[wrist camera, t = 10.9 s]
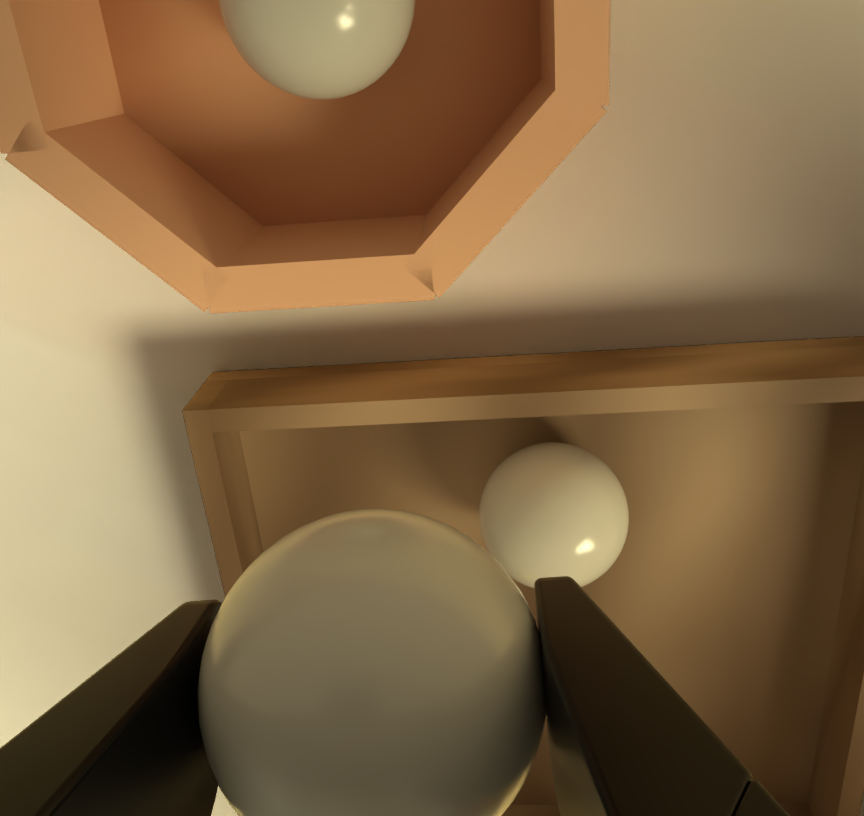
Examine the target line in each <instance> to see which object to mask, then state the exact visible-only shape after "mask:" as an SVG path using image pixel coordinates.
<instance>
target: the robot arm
mask: <svg viewBox="0 0 864 816" xmlns="http://www.w3.org/2000/svg"><path fill="white" fill-rule="evenodd" d="M534 588H535V602H536V615H537V627H538V630H539V634H540V641H541V650H542V660H543V670H544V681H545V693H546V708H547V712H546V721H547V731H548V741H549V750H550V760H551V768H552V775H553V783H554V788H555V793H556V798H557V803H558V808H559V812H560V816H790V815H789V814H788V813H787V812H786V811H785V810H784V809H783V808H782V806H781V805H780V804H779V803H778V802H777V801H776V800H775V799H774V798H773V796H772V795H771V794H770V793H769V792H768V791H767V790H766V789H765V788H764V786H763V785H762V784H761V783H760V782H759V781H757V780H753V776H752V774H751V773H750V772H749V771H748V769H747V768H746V767H745V766H744V765H743V764H742V763H741V762H740V761H739V760H738V758H737V757H736V756H735V755H734V754H733V753H732V752H731V751H730V750H729V749H728V748H727V746H726V745H725V744H724V743H723V742H722V741H721V740H720V739H719V738H718V737H717V736H716V734H715V733H714V732H713V731H712V730H711V729H710V728H709V727H708V726H707V725H706V723H705V722H704V721H703V720H702V719H701V718H700V717H699V716H698V715H697V714H696V713H695V711H694V710H693V709H692V708H691V707H690V706H689V705H688V704H687V703H686V702H685V701H684V699H683V698H682V697H681V696H680V695H679V694H678V693H677V692H676V691H675V690H674V688H673V687H672V686H671V685H670V684H669V683H668V682H667V681H666V680H665V679H664V678H663V676H662V675H661V674H660V673H659V672H658V671H657V670H656V669H655V668H654V667H653V666H652V664H651V663H650V662H649V661H648V660H647V659H646V658H645V657H644V656H643V655H642V654H641V652H640V651H639V650H638V649H637V648H636V647H635V646H634V645H633V644H632V643H631V641H630V640H629V639H628V638H627V637H626V636H625V635H624V634H623V633H622V632H621V631H620V629H619V628H618V627H617V626H616V625H615V624H614V623H613V622H612V621H611V620H610V619H609V617H608V616H607V615H606V614H605V613H604V612H603V611H602V610H601V609H600V608H599V606H598V605H597V604H596V603H595V602H594V601H593V600H592V599H591V598H590V597H589V596H588V594H587V593H586V592H585V591H584V590H583V589H582V588H581V587H580V586H579V585H578V584H577V582H576V581H575V580H574V579H573V578H571V577H569V576H560V577H546V578H538V579H537V580H536V581H535V584H534ZM221 605H222V603H221V602H219V601H217V600H205V601H190V602H186V603H184V604H182V605H181V606H179V607H178V608H177V609H176V610H174V611H173V612H172V613H171V614H169V615H168V616H167V617H165V618H164V619H163V620H162V621H160V622H159V623H158V624H157V625H155V626H154V627H153V628H152V629H150V630H149V631H148V632H147V633H145V634H144V635H143V636H141V637H140V638H139V639H138V640H136V641H135V642H134V643H133V644H131V645H130V646H129V647H128V648H126V649H125V650H124V651H123V652H121V653H120V654H119V655H117V656H116V657H115V658H114V659H112V660H111V661H110V662H109V663H107V664H106V665H105V666H104V667H102V668H101V669H100V670H99V671H97V672H96V673H95V674H93V675H92V676H91V677H90V678H88V679H87V680H86V681H85V682H83V683H82V684H81V685H80V686H78V687H77V688H76V689H74V690H73V691H72V692H71V693H69V694H68V695H67V696H66V697H64V698H63V699H62V700H61V701H59V702H58V703H57V704H56V705H54V706H53V707H52V708H50V709H49V710H48V711H47V712H45V713H44V714H43V715H42V716H40V717H39V718H38V719H37V720H35V721H34V722H33V723H32V724H30V725H29V726H28V727H26V728H25V729H24V730H23V731H21V732H20V733H19V734H18V735H16V736H15V737H14V738H13V739H11V740H10V741H9V742H7V743H6V744H5V745H4V746H2V747H1V748H0V816H211V813H212V809H213V805H214V802H215V798H216V793H217V788H218V783H217V781H216V778H215V776H214V774H213V772H212V769H211V767H210V764H209V762H208V760H207V756H206V752H205V748H204V743H203V739H202V735H201V731H200V726H199V712H198V683H199V674H200V667H201V659H202V654H203V651H204V648H205V644H206V641H207V638H208V635H209V632H210V629H211V626H212V623H213V621H214V619H215V617H216V615H217V613H218V611H219V609H220V607H221Z"/></svg>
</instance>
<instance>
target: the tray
mask: <svg viewBox="0 0 864 816" xmlns="http://www.w3.org/2000/svg"><path fill="white" fill-rule="evenodd" d="M182 413H183V417H184V421H185V426H186V430H187V434H188V439H189V443H190V447H191V452H192V456H193V460H194V464H195V469H196V473H197V477H198V482H199V486H200V490H201V494H202V499H203V503H204V507H205V512H206V516H207V520H208V525H209V529H210V533H211V537H212V542H213V546H214V550H215V555H216V559H217V563H218V567H219V572H220V576H221V580H222V585H223V589H224V593H225V598H226V596H227V594H228V592H229V591H230V590H231V588H232V587H233V585H234V584H235V583H236V581H237V580H238V579H239V577H240V576H241V575H242V574H243V572H244V571H245V570H246V569H247V568H248V566H249V565H250V564H251V563H252V562H253V561H254V560H255V559H256V558H258V557H259V556H260V555H261V554H262V553H263V552H264V551H265V550H267V549H268V548H269V547H271V546H272V545H273V544H275V543H276V542H277V541H279V540H280V539H281V538H283V537H284V536H285V535H287V534H289V533H291V532H293V531H294V530H296V529H298V528H300V527H302V526H304V525H306V524H309V523H311V522H314V521H316V520H319V519H321V518H324V517H326V516H330V515H334V514H338V513H342V512H346V511H354V510H361V509H390V510H401V511H406V512H411V513H416V514H420V515H423V516H426V517H429V518H432V519H436V520H438V521H441V522H443V523H445V524H447V525H449V526H451V527H454V528H455V529H457V530H459V531H460V532H462V533H464V534H465V535H467V536H469V537H470V538H471V539H473V540H474V541H475V542H476V543H478V544H479V545H480V546H481V547H483V548H484V549H485V550H486V551H488V550H487V548H486V546H485V544H484V541H483V538H482V535H481V530H480V523H479V507H480V501H481V496H482V493H483V490H484V487H485V485H486V483H487V481H488V479H489V477H490V476H491V474H492V473H493V471H494V470H495V469H496V468H497V467H498V466H499V465H500V463H501V462H502V461H504V460H505V459H506V458H507V457H508V456H510V455H511V454H513V453H515V452H516V451H518V450H520V449H523V448H525V447H528V446H530V445H534V444H538V443H545V442H559V443H567V444H571V445H575V446H578V447H580V448H583V449H585V450H587V451H589V452H591V453H592V454H594V455H595V456H597V457H598V458H599V459H601V460H602V461H603V462H604V463H605V464H606V465H607V466H608V467H609V468H610V469H611V470H612V472H613V473H614V474H615V475H616V477H617V479H618V480H619V482H620V484H621V486H622V488H623V491H624V493H625V496H626V500H627V505H628V510H629V525H628V533H627V537H626V541H625V544H624V546H623V548H622V551H621V553H620V554H619V556H618V558H617V559H616V561H615V562H614V563H613V565H612V566H611V567H610V568H609V569H608V570H607V571H606V572H605V573H604V574H603V575H602V576H600V577H599V578H598V579H596V580H595V581H593V582H591V583H589V584H588V585H585V586H583V587H581V588H582V589H583V590H584V591H585V592H586V593H587V594H588V596H589V597H590V598H591V599H592V600H593V601H594V602H595V603H596V604H597V605H598V606H599V608H600V609H601V610H602V611H603V612H604V613H605V614H606V615H607V616H608V617H609V619H610V620H611V621H612V622H613V623H614V624H615V625H616V626H617V627H618V628H619V629H620V631H621V632H622V633H623V634H624V635H625V636H626V637H627V638H628V639H629V640H630V641H631V643H632V644H633V645H634V646H635V647H636V648H637V649H638V650H639V651H640V652H641V654H642V655H643V656H644V657H645V658H646V659H647V660H648V661H649V662H650V663H651V664H652V666H653V667H654V668H655V669H656V670H657V671H658V672H659V673H660V674H661V675H662V676H663V678H664V679H665V680H666V681H667V682H668V683H669V684H670V685H671V686H672V687H673V688H674V690H675V691H676V692H677V693H678V694H679V695H680V696H681V697H682V698H683V699H684V701H685V702H686V703H687V704H688V705H689V706H690V707H691V708H692V709H693V710H694V711H695V713H696V714H697V715H698V716H699V717H700V718H701V719H702V720H703V721H704V722H705V723H706V725H707V726H708V727H709V728H710V729H711V730H712V731H713V732H714V733H715V734H716V736H717V737H718V738H719V739H720V740H721V741H722V742H723V743H724V744H725V745H726V746H727V748H728V749H729V750H730V751H731V752H732V753H733V754H734V755H735V756H736V757H737V758H738V760H739V761H740V762H741V763H742V764H743V765H744V766H745V767H746V768H747V769H748V771H749V772H750V773H751V774H752V776H753V780H757V781H759V782H760V783H761V784H762V785H763V786H764V788H765V789H766V790H767V791H768V792H769V793H770V794H771V795H772V796H773V798H774V799H775V800H776V801H777V802H778V803H779V804H780V805H781V806H782V808H783V809H784V810H785V811H786V812H787V813H788V814H789V815H790V816H859V811H860V806H861V801H862V796H863V791H864V336H860V337H841V338H823V339H805V340H787V341H768V342H750V343H732V344H714V345H696V346H677V347H659V348H641V349H623V350H604V351H586V352H568V353H550V354H532V355H513V356H495V357H477V358H459V359H440V360H422V361H404V362H386V363H368V364H349V365H331V366H313V367H295V368H276V369H258V370H240V371H222V372H212V374H211V375H210V376H209V378H208V379H207V380H206V381H205V383H204V384H203V385H202V386H201V388H200V389H199V390H198V391H197V393H196V394H195V395H194V396H193V398H192V399H191V400H190V402H189V403H188V404H187V405H186V407H185V408H184V409H183V410H182ZM512 579H513V578H512ZM513 581H514V582H515V584H516V585H517V586H518V588H519V589H520V591H521V592H522V594H523V596H524V598H525V600H526V602H527V603H528V605H529V607H530V610H531V612H532V614H533V616H534V619H535V621H536V624H537V615H536V602H535V589H534V588H531V587H528V586H525V585H523V584H521V583H519V582H517V581H516V580H514V579H513ZM501 816H560V812H559V808H558V803H557V798H556V793H555V788H554V783H553V775H552V768H551V760H550V750H549V741H548V731H547V721H546V719H545V725H544V730H543V735H542V740H541V743H540V746H539V749H538V752H537V755H536V758H535V760H534V763H533V766H532V768H531V771H530V773H529V775H528V776H527V778H526V780H525V782H524V784H523V786H522V787H521V789H520V791H519V792H518V794H517V796H516V798H515V799H514V801H513V802H512V803H511V805H510V806H509V807H508V808H507V809H506V811H505V812H504V813H503V814H502V815H501Z"/></svg>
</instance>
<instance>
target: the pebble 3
mask: <svg viewBox="0 0 864 816" xmlns="http://www.w3.org/2000/svg"><path fill="white" fill-rule="evenodd" d="M479 523H480V530H481V535H482V538H483V541H484V544H485V546H486V548H487V550H488V552H489V553H490V554H491V555H492V556H493V557H494V558H495V559H496V560H497V561H498V562H499V563H500V564H501V565H502V566H503V567H504V568H505V570H506V571H507V573H508V574H509V575H510V577H511V578H513V579H514V580H516V581H517V582H519V583H521V584H523V585H525V586H528V587H531V588H534V584H535V581H536V580H537V579H538V578H546V577H560V576H569V577H571V578H573V579H574V580H575V581H576V582H577V584H578V585H579V586H580V587H583V586H585V585H588V584H589V583H591V582H593V581H595V580H596V579H598V578H599V577H600V576H602V575H603V574H604V573H605V572H606V571H607V570H608V569H609V568H610V567H611V566H612V565H613V563H614V562H615V561H616V559H617V558H618V556H619V554H620V553H621V551H622V548H623V546H624V544H625V541H626V537H627V533H628V525H629V510H628V505H627V500H626V496H625V493H624V491H623V488H622V486H621V484H620V482H619V480H618V479H617V477H616V475H615V474H614V473H613V472H612V470H611V469H610V468H609V467H608V466H607V465H606V464H605V463H604V462H603V461H602V460H601V459H599V458H598V457H597V456H595V455H594V454H592V453H591V452H589V451H587V450H585V449H583V448H580V447H578V446H575V445H571V444H567V443H559V442H545V443H538V444H534V445H530V446H528V447H525V448H523V449H520V450H518V451H516V452H515V453H513V454H511V455H510V456H508V457H507V458H506V459H505V460H504V461H502V462H501V463H500V465H499V466H498V467H497V468H496V469H495V470H494V471H493V473H492V474H491V476H490V477H489V479H488V481H487V483H486V485H485V487H484V490H483V493H482V496H481V501H480V507H479ZM534 589H535V588H534Z"/></svg>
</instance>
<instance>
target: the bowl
mask: <svg viewBox="0 0 864 816" xmlns="http://www.w3.org/2000/svg"><path fill="white" fill-rule="evenodd" d="M609 48H610V0H415V7H414V16H413V20H412V25H411V29H410V32H409V35H408V38H407V41H406V43H405V45H404V47H403V49H402V51H401V53H400V54H399V56H398V57H397V59H396V60H395V62H394V63H393V65H392V66H391V67H390V68H389V69H388V70H387V71H386V73H385V74H383V75H382V76H381V77H380V78H379V79H378V80H377V81H375V82H374V83H372V84H371V85H369V86H368V87H366V88H365V89H363V90H361V91H359V92H356V93H354V94H351V95H348V96H345V97H341V98H335V99H310V98H304V97H300V96H296V95H293V94H290V93H288V92H285V91H283V90H281V89H279V88H277V87H275V86H274V85H272V84H270V83H269V82H268V81H266V80H265V79H264V78H262V77H261V76H260V75H258V74H257V73H256V72H255V71H254V70H253V69H252V68H251V67H250V66H249V65H248V63H247V62H246V61H245V60H244V59H243V57H242V56H241V55H240V53H239V52H238V50H237V48H236V47H235V45H234V44H233V42H232V40H231V38H230V36H229V34H228V32H227V29H226V26H225V24H224V21H223V18H222V14H221V10H220V5H219V0H0V151H1V154H2V153H8V155H7V157H6V158H5V160H7V161H8V162H9V163H11V164H12V165H13V166H15V167H16V168H17V169H18V170H20V171H21V172H22V173H24V174H25V175H26V176H28V177H29V178H30V179H31V180H33V181H34V182H35V183H37V184H38V185H39V186H41V187H42V188H43V189H45V190H46V191H47V192H48V193H50V194H51V195H52V196H54V197H55V198H56V199H58V200H59V201H60V202H62V203H63V204H64V205H65V206H67V207H68V208H69V209H71V210H72V211H73V212H75V213H76V214H77V215H79V216H80V217H81V218H82V219H84V220H85V221H86V222H88V223H89V224H90V225H92V226H93V227H94V228H96V229H97V230H98V231H99V232H101V233H102V234H103V235H105V236H106V237H107V238H109V239H110V240H111V241H113V242H114V243H115V244H116V245H118V246H119V247H120V248H122V249H123V250H124V251H126V252H127V253H128V254H130V255H131V256H132V257H133V258H135V259H136V260H137V261H139V262H140V263H141V264H143V265H144V266H145V267H147V268H148V269H149V270H150V271H152V272H153V273H154V274H156V275H157V276H158V277H160V278H161V279H162V280H164V281H165V282H166V283H167V284H169V285H170V286H171V287H173V288H174V289H175V290H177V291H178V292H179V293H180V294H182V295H183V296H184V297H186V298H187V299H188V300H190V301H191V302H192V303H194V304H195V305H196V306H197V307H199V308H200V309H201V310H203V311H204V312H205V311H206V310H207V309H208V308H209V311H210V313H225V312H241V311H257V310H274V309H290V308H306V307H323V306H339V305H355V304H372V303H388V302H404V301H421V300H434V298H435V294H436V295H437V296H438V297H440V296H441V295H442V294H443V293H444V292H445V291H446V290H447V289H448V287H449V286H450V285H451V284H452V283H453V282H454V281H455V280H456V279H457V277H458V276H459V275H460V274H461V273H462V272H463V271H464V270H465V269H466V267H467V266H468V265H469V264H470V263H471V262H472V261H473V260H474V258H475V257H476V256H477V255H478V254H479V253H480V252H481V251H482V250H483V248H484V247H485V246H486V245H487V244H488V243H489V242H490V241H491V240H492V238H493V237H494V236H495V235H496V234H497V233H498V232H499V231H500V230H501V228H502V227H503V226H504V225H505V224H506V223H507V222H508V221H509V220H510V218H511V217H512V216H513V215H514V214H515V213H516V212H517V211H518V210H519V208H520V207H521V206H522V205H523V204H524V203H525V202H526V201H527V199H528V198H529V197H530V196H531V195H532V194H533V193H534V192H535V191H536V189H537V188H538V187H539V186H540V185H541V184H542V183H543V182H544V181H545V179H546V178H547V177H548V176H549V175H550V174H551V173H552V172H553V171H554V169H555V168H556V167H557V166H558V165H559V164H560V163H561V162H562V161H563V159H564V158H565V157H566V156H567V155H568V154H569V153H570V152H571V151H572V149H573V148H574V147H575V146H576V145H577V144H578V143H579V142H580V140H581V139H582V138H583V137H584V136H585V135H586V134H587V133H588V132H589V130H590V129H591V128H592V127H593V126H594V125H595V124H596V123H597V122H598V120H599V119H600V118H601V117H602V116H603V115H604V114H605V113H606V112H607V111H606V110H605V109H604V108H603V107H602V106H601V105H609Z"/></svg>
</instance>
